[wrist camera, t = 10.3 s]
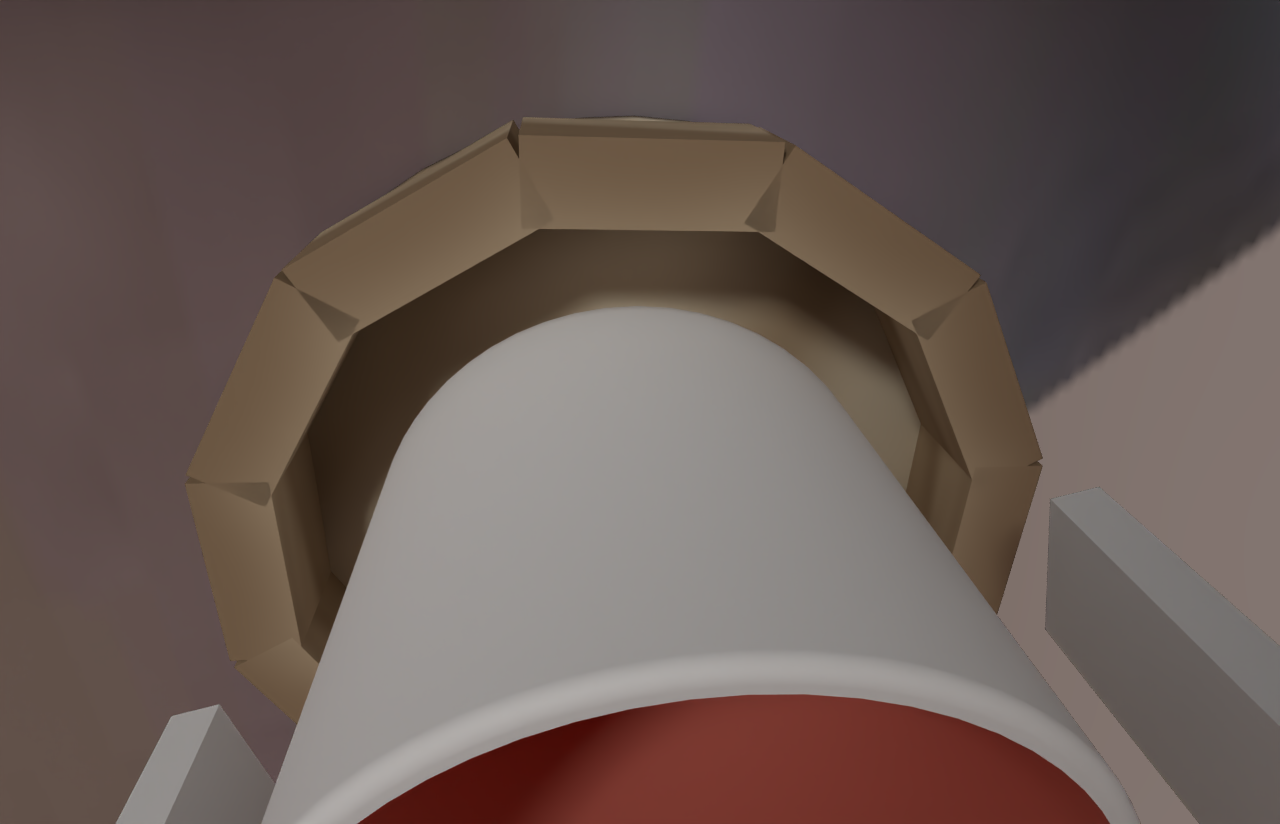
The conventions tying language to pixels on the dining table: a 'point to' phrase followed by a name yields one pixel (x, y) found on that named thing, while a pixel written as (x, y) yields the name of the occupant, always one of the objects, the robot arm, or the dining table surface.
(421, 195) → the hub plate
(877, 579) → the cup
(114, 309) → the dining table surface
